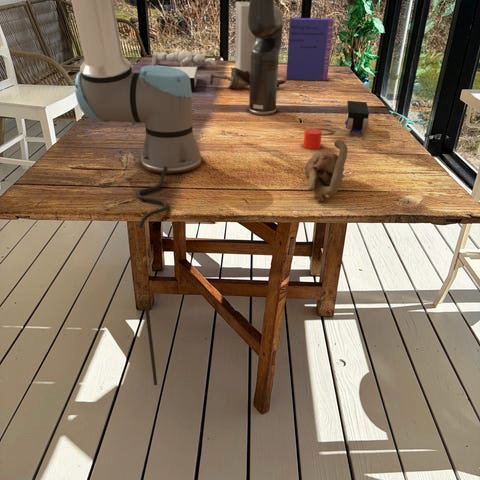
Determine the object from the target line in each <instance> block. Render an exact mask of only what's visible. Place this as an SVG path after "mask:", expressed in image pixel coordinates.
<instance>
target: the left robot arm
mask: <svg viewBox="0 0 480 480" xmlns="http://www.w3.org/2000/svg"><path fill="white" fill-rule="evenodd" d="M70 1H71V6H72V10H73V15H74V19H75V23H76V28H77V32H78V37H79V41H80V45H81V50H82V55H83V59H84V61H83V62H82V63H81V64H80V66H79V72H78V73H77V74H76V76H75V79H74V87H75V90H74V91H75V92H74V93H75V98H76V101H77V104H78V106H79V109H80V110H81V112H82V113H83V114H84V116H85V117H87V118H88V119H90V120H93V121H99V122H104V123H110V122H115V123H140V124H141V123H142V124H144V127H145V138H144V142H143V146H142V150H141V154H140V162H141V166H142V168H144V169H145V170H146V171H149V172H151V173H156V174H161V175H160V181H159V183H158V184H156V185H155V186H152V187H147V188H143V189H140V190H138V191H137V192H136V197H137V198H138V199H139V200H142V201H145V202H151V203H157V204H161V205H163V207H161V208H157V209H154V210H152V211H149V212H147V213H146V214H144V215H143V216H142V218H141V219H140V222H139V224H138V229H142V228H143V227H144V224H145V223H146V221H147V219H148V218H150V217H151V216H153V215H156V214H160V213H162V212H165V211H167V210H168V209H169V204H168V203H167V202H166V201H164V200H162V199H159V198H155V197H154V198H153V197H147V196H144V195H142V194H143V193H144V194H145V193H148V192H152V191H156V190H158V189H160V188H161V187H162V186H163V184H164V181H165V176H166V175H169V174H170V175H172V174H173V175H175V174H182V173H187V172H190V171H193V170H195V169H197V168H198V167H199V166H201V163H202V155H201V151H200V149H199V146H198V143H197V141H196V137H195V135H194V130H193V129H194V126H193V99H192V98H193V97H192V96H193V91H191V83H190V78H189V76H188V75H187V74H186V73H185V72H184V71H182V70H179V69H176V68H173V67H174V66H166V65H159V64H158V65H155V66H153V65H152V64H150V65H149V64H148V65H144V66H142V67H141V68H140V70H139V72H134V71H133V70H132V64H131V61H130V60H129V59H127V58H126V57H125V56H124V55H123V50H122V44H121V38H120V32H119V26H118V21H117V15H116V9H115V3H114V0H70ZM147 2H148V3H159V0H147ZM144 311H145V319H146V320H145V321H146V327H147V336H148V343H149V344H148V345H149V351H150V352H149V353H150V354H149V355H150V361H151V369H152V370H151V371H152V379H153V380H152V381H153V386H157V385H158V379H157V369H156V359H155V351H154V341H153V334H152V326H151V325H152V324H151V317H150V308H149V306H145V307H144Z"/></svg>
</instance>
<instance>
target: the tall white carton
mask: <svg viewBox="0 0 480 480" xmlns="http://www.w3.org/2000/svg"><path fill="white" fill-rule="evenodd" d="M249 3H250V1H235V59H234V60H235V62H234V63H235V65H234V66H235V67H234V68H237V69H240V70H242V71H244V72H245V71H249V72H250V52H251V49H252V47H253V44H254V41H255V36H254V35H253V34H252V33H251V31H250V29H249V26H248V12H249Z"/></svg>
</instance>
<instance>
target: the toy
mask: <svg viewBox="0 0 480 480" xmlns="http://www.w3.org/2000/svg"><path fill="white" fill-rule="evenodd" d="M151 61H152V63H151V65H153V66H156V65H159V64H160V63H161V62H167V61H168V62H178V64H179V67H185V66H188V65H190V64H192V66H191V67H197V68H200V65H204V64H205V63H210V64H211V65H212V66H214V67H217V64H218V63H217V62H216V60H214V59H212V58H210V57H209V58H206V56H205V55H204V54H202V53H200V51H198V50H197V51H195V52H190V51H187V50H181V51H178V50H176V51H174V52H170V53H168V52H166V51H161V52H160V51H158V50H157V51H155V52H153V53H152V59H151Z"/></svg>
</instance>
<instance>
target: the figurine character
mask: <svg viewBox="0 0 480 480" xmlns="http://www.w3.org/2000/svg"><path fill="white" fill-rule="evenodd" d="M346 104H347V114H346V121H345V122H344V124H345V128H346V130H347V131H349V135H350V136H353V133H358V135H359V136H362V135H363V131H368V128H369V121H370V120H369V115H370V111H369V108H368V103H367V101H357V100H347V102H346Z"/></svg>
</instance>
